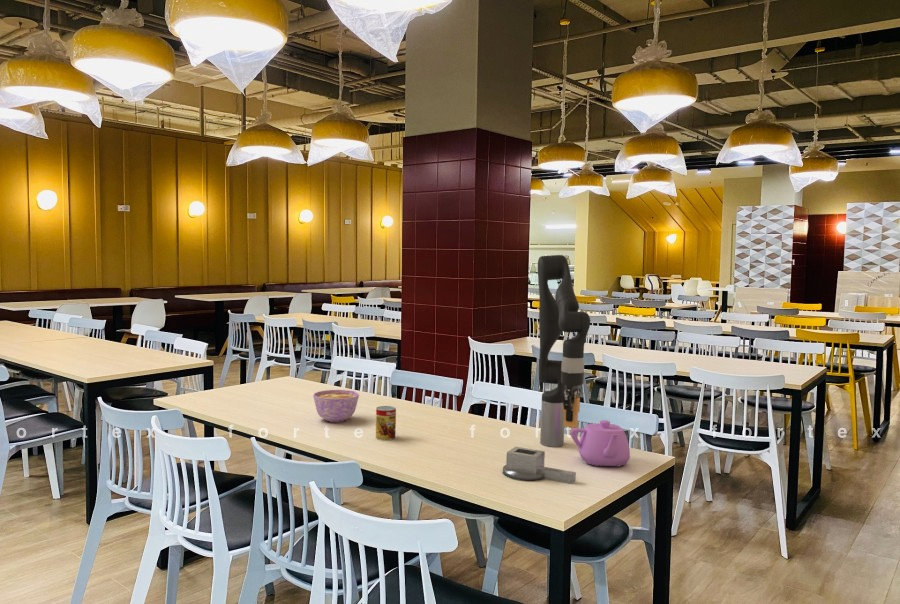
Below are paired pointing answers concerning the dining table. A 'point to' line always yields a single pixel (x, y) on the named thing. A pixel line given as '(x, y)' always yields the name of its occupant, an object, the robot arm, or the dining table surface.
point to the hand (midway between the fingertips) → (570, 419)
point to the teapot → (602, 444)
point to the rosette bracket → (533, 467)
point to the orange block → (575, 414)
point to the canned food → (385, 422)
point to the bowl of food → (336, 404)
